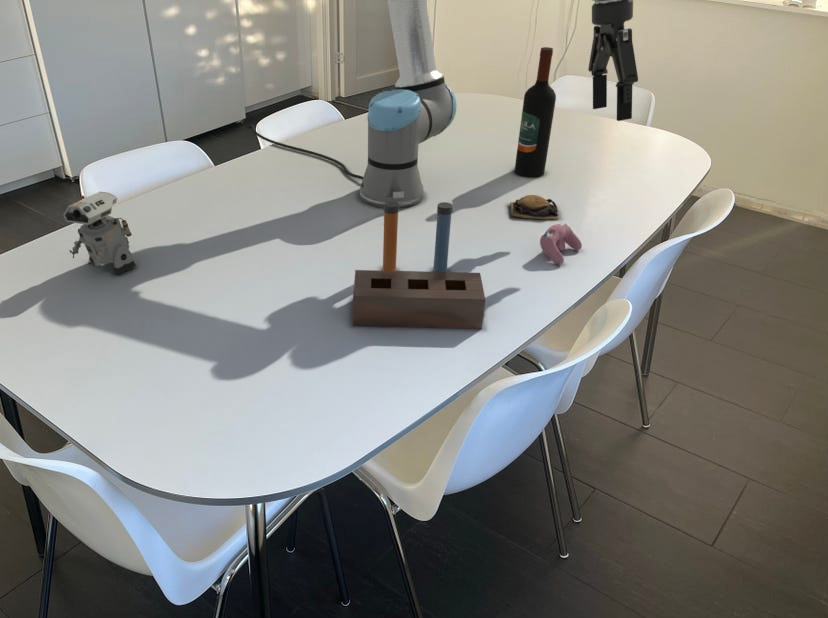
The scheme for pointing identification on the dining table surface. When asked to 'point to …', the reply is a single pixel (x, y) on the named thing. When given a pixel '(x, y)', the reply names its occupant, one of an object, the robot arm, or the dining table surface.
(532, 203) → the bread roll
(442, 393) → the dining table surface
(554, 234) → the video game controller
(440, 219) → the smoke-blue tube
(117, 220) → the figurine
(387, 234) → the amber tube
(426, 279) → the rack
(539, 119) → the wine bottle
